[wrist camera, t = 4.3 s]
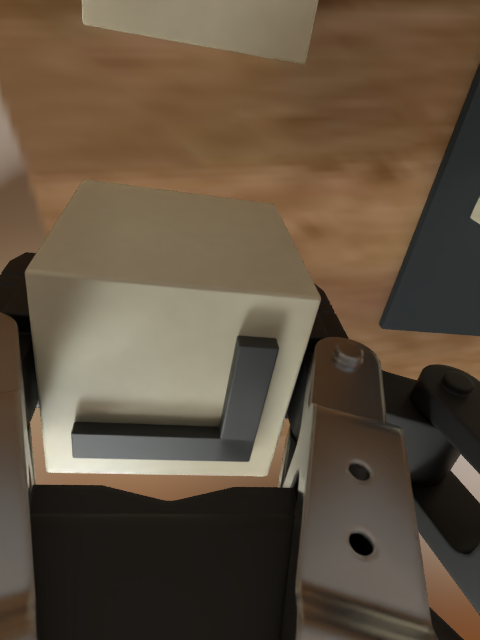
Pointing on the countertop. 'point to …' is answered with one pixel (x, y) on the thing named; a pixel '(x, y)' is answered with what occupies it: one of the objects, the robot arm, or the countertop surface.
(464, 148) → the word mat
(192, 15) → the tile
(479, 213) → the tile
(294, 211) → the countertop surface
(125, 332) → the tile
